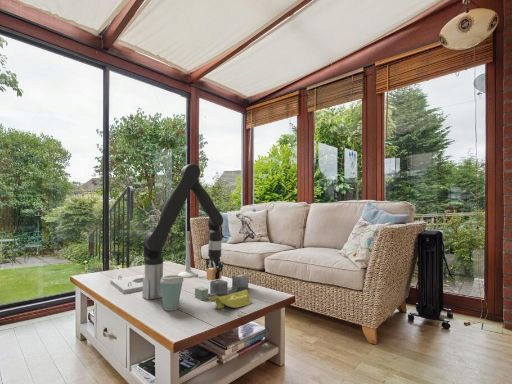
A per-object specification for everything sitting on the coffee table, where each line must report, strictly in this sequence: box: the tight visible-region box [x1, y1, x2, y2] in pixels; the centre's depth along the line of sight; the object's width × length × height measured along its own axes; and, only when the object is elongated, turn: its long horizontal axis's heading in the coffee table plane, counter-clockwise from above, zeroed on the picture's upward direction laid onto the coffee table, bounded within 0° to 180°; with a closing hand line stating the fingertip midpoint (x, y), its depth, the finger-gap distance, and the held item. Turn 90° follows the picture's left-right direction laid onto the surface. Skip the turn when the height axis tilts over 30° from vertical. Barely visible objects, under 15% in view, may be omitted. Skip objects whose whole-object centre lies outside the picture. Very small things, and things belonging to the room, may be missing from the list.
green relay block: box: [194, 286, 209, 301], centre depth 152 cm, size 4×6×5 cm, turn 44°
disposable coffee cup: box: [160, 274, 184, 312], centre depth 138 cm, size 11×11×15 cm
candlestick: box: [177, 231, 198, 279], centre depth 199 cm, size 13×13×30 cm
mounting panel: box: [110, 274, 167, 295], centre depth 179 cm, size 27×5×30 cm
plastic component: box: [208, 289, 252, 310], centre depth 141 cm, size 20×7×10 cm
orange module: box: [206, 267, 223, 281], centre depth 172 cm, size 7×5×6 cm
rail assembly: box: [208, 273, 249, 298], centre depth 163 cm, size 26×7×7 cm, turn 138°
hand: (214, 277), depth 172 cm, fingers closed on orange module, 5 cm apart
